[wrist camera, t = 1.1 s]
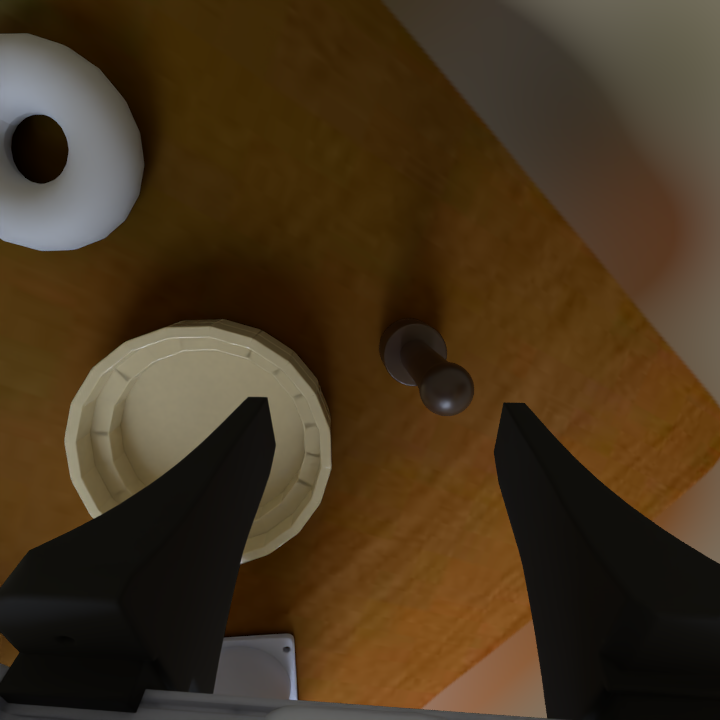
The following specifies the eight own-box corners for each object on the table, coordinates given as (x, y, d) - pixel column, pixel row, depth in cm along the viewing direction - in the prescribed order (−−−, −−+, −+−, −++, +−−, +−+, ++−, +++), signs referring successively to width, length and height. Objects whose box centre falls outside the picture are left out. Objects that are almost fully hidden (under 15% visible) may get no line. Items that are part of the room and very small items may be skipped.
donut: (122, 281, 25) (180, 108, 23) (89, 285, 22) (155, 83, 20) (-59, 203, 24) (-12, 13, 22) (-124, 195, 20) (-74, -31, 19)
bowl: (334, 527, 29) (334, 561, 26) (116, 538, 29) (87, 575, 25) (327, 315, 26) (326, 322, 23) (82, 321, 25) (44, 330, 22)
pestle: (436, 374, 27) (497, 439, 17) (379, 376, 27) (407, 442, 17) (437, 317, 27) (501, 349, 17) (378, 318, 27) (407, 352, 16)
